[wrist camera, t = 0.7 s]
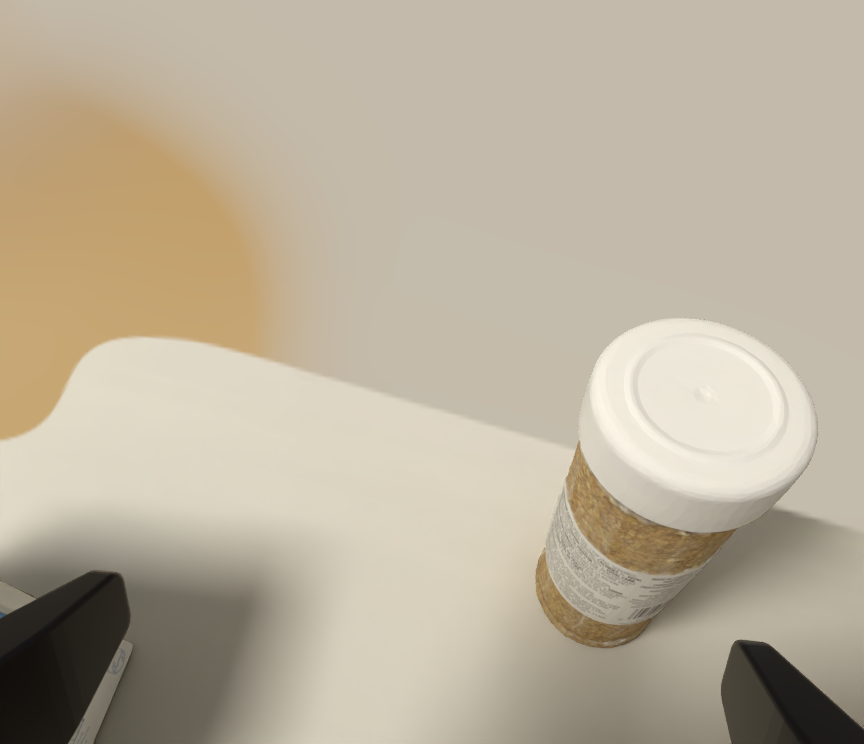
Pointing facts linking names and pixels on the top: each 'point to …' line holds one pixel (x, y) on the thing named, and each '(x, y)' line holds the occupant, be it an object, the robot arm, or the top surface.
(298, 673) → the top surface
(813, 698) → the robot arm
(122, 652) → the light bulb box
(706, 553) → the sprinkles bottle
